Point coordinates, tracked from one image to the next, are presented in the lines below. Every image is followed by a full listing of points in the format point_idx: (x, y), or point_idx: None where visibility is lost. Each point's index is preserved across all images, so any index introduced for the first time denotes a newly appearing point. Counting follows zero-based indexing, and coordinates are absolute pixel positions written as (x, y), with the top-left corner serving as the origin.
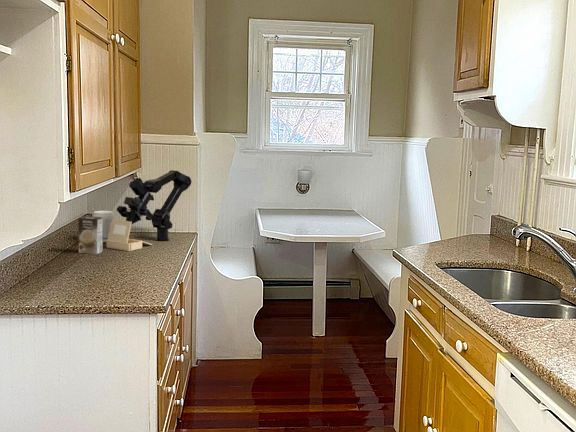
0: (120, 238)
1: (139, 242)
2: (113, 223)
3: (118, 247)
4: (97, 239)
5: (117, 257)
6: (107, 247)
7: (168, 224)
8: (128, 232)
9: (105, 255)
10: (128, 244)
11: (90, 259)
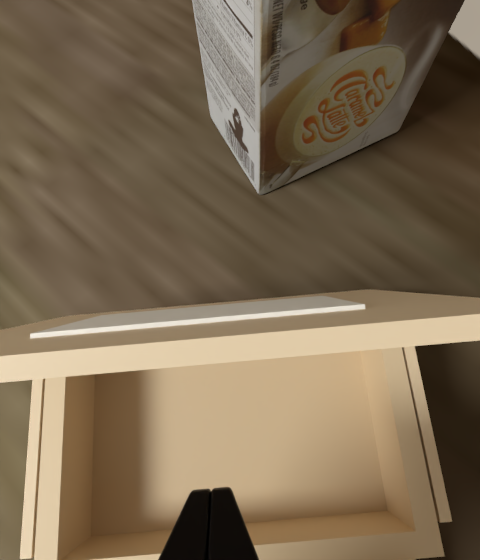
0: (167, 308)
1: (26, 510)
2: (421, 304)
3: None
4: (196, 15)
5: (5, 138)
6: None
7: None
8: (3, 330)
9: (126, 125)
10: None
11: (113, 4)
